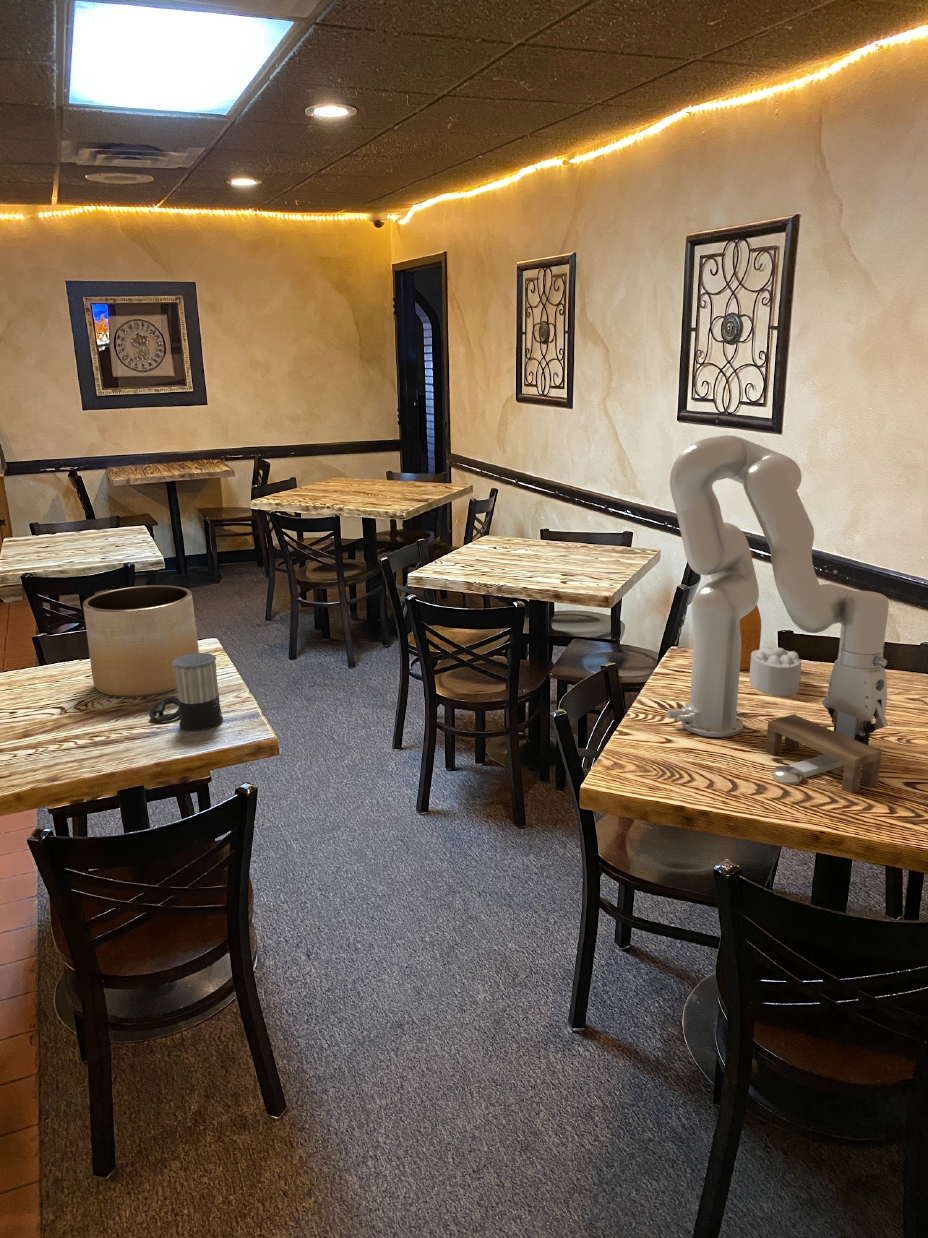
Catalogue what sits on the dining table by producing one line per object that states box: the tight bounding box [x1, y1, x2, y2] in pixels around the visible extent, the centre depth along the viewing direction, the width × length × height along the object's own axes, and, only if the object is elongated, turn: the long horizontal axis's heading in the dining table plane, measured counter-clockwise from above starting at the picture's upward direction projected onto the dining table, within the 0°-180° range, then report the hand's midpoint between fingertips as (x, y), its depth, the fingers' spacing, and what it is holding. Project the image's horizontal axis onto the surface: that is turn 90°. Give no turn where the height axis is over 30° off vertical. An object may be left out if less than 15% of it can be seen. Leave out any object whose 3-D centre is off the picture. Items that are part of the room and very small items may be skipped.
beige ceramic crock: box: [82, 585, 200, 699], centre depth 213 cm, size 25×25×22 cm
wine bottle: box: [739, 549, 762, 671], centre depth 215 cm, size 10×10×30 cm
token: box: [772, 765, 803, 785], centre depth 159 cm, size 5×5×2 cm
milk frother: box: [148, 652, 224, 731], centre depth 189 cm, size 14×16×15 cm
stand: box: [765, 713, 883, 794], centre depth 162 cm, size 7×20×6 cm, turn 27°
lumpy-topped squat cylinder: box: [748, 647, 802, 698], centre depth 203 cm, size 10×13×9 cm
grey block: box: [789, 711, 866, 779], centre depth 163 cm, size 16×4×10 cm, turn 117°
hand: (849, 747), depth 166 cm, fingers closed on grey block, 4 cm apart
